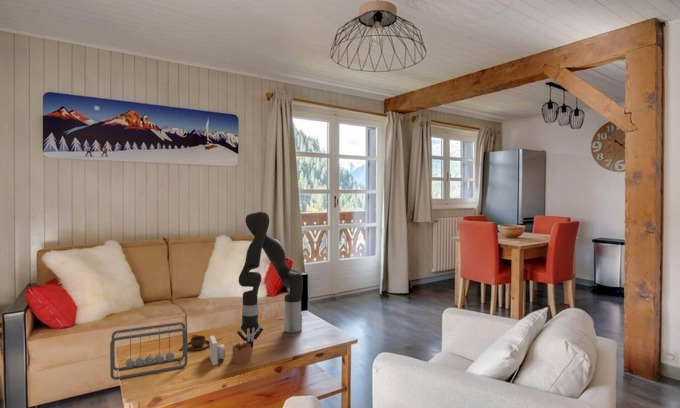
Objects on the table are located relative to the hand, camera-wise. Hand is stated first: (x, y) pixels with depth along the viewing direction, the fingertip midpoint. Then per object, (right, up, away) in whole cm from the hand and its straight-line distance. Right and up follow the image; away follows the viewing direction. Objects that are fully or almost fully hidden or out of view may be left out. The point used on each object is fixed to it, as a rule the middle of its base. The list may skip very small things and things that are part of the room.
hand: (249, 348), depth 192 cm
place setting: (-27, -3, +5) cm, 28 cm away
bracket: (-3, -4, -2) cm, 5 cm away
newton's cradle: (-40, -3, -16) cm, 44 cm away
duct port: (-14, -3, -6) cm, 15 cm away
